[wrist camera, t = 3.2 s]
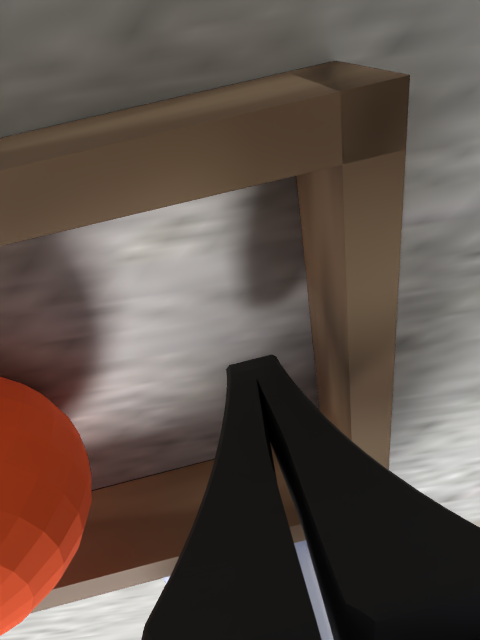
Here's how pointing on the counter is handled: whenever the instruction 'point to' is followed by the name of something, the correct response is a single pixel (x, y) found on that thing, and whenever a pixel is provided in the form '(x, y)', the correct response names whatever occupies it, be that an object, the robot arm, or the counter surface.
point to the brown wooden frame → (215, 178)
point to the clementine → (37, 498)
